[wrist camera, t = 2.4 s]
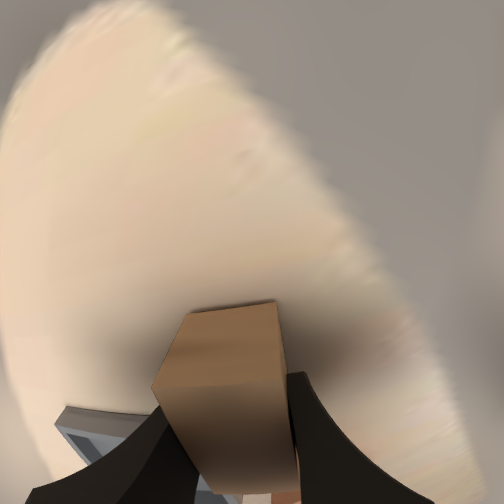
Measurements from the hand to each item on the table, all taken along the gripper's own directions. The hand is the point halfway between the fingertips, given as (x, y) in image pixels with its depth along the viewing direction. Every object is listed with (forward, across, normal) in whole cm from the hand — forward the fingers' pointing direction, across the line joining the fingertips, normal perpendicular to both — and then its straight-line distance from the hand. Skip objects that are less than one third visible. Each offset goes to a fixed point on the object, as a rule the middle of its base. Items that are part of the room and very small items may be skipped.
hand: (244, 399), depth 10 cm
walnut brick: (+1, 0, 0) cm, 1 cm away
